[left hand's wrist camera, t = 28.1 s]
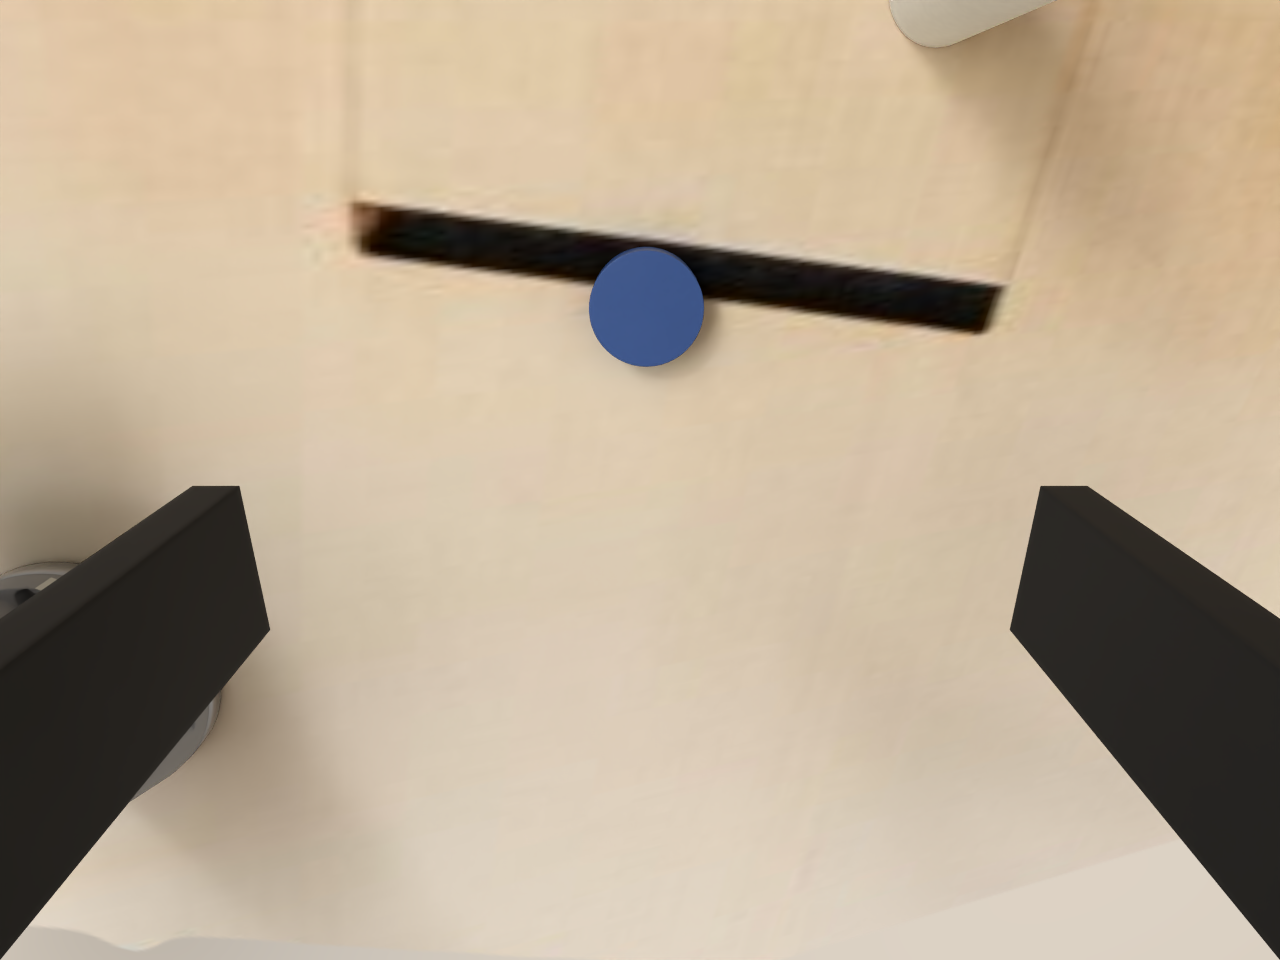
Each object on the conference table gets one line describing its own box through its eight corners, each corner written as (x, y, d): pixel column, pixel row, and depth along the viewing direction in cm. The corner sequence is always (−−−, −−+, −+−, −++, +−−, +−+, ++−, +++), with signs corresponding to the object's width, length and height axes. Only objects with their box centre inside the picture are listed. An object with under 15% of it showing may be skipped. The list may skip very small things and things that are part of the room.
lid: (568, 305, 38) (565, 311, 36) (645, 222, 36) (645, 224, 35) (646, 379, 39) (647, 389, 37) (723, 302, 38) (727, 309, 36)
